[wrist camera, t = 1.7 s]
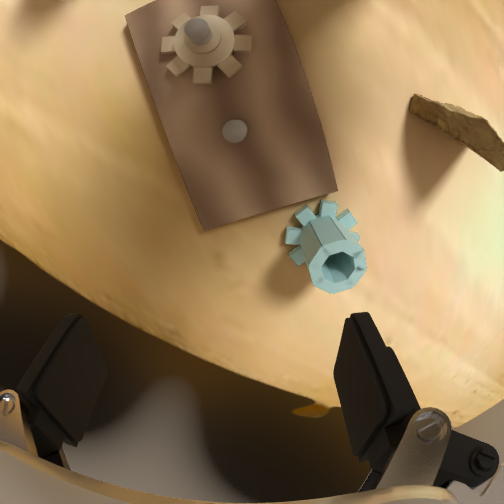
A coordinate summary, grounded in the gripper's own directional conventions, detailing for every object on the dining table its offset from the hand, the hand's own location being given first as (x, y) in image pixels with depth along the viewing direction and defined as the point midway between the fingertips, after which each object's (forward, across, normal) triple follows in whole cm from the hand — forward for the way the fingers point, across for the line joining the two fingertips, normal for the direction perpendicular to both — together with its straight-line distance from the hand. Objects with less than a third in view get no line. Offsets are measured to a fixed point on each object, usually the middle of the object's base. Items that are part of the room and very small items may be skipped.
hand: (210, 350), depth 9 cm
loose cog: (+21, -9, +5) cm, 24 cm away
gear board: (+21, 0, -10) cm, 24 cm away
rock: (+21, -24, -10) cm, 34 cm away
